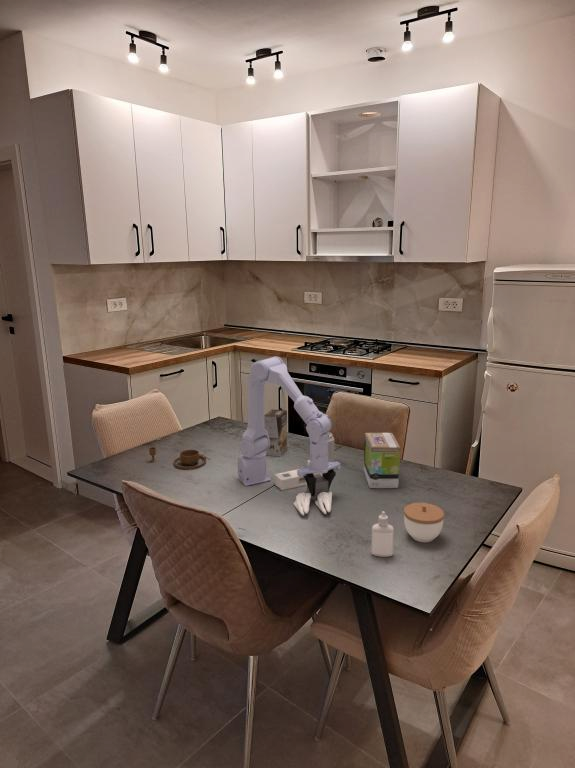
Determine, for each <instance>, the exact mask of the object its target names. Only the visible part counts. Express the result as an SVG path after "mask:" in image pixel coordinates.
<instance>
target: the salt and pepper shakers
mask: <svg viewBox="0 0 575 768" xmlns="http://www.w3.org/2000/svg"><path fill="white" fill-rule="evenodd" d="M310 497H311V494H310V493H307V492H299V493H298V494H297V495H296V497H295V501H294V502H293V505H294V507H295V508H296V510H297V511H298V512H299V514H300V515H302V516H305V514H308V513H309V511H310V503H311V498H310ZM317 497H318V498H317V499H318V500H317V501H314V504H315V505H316V507H318V508H319V510H320V511H321V513H323V514H324V515H327V512H328V513H330V512H331V511H332V500H333V492H332V491H329V492H328V493H326V492H321V493H320V494H319V495H318V496H317Z"/></svg>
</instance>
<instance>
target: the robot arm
mask: <svg viewBox="0 0 575 768" xmlns="http://www.w3.org/2000/svg"><path fill="white" fill-rule="evenodd" d="M266 383H272V384H277V385H279V386H280V387H281V389H282V390H283V391H284V392H285V393H286V395H287V396H288V397H289V398H290V399H291V400H292V401H293V402H294V404H293V408H294V410H295V411H296V412H297V414H298V415H299V416H300V418H301V419H302V420H303V422H304V424H306V426H305V429H306V432H307V434H308V439H309V460H310V465H309V466H307V465H306V466H304V467H303V468H297V469H298V470H297V469H296V470H297V475H298V476H299V477H300V478H301V477H304V479H305V480H306V483H307V485H308V488H309V493H310V494H311V496H314V495H315V483H316V478H315V477H314V475H313V474H315V473H322V475H323V477H324V478H325V479H327V480H328V493H329V492H330V489H331V485H332V482H333V480H334V479H335V477H336V476H337V475H336V474H337V473H336V471H335V470H341V462H339V461H334V462H328V432H330V431H331V430H332V428H333V422H332V419H331V418H330V416H329V415H327V414H326V413H323V412H322V411H320V410H319V409H318V407H317V406H316V405H315V403H314V400H313V399H312V398H311V397H309V396H307V395H303V394H302V393H303V392H301V390H300V389H299V387H298V385H297V383H295V381H294V379H293V378H292V377H291V375H290V374H289V372H288V367H287V365H286V363H284V360H283V358H281V357H279V356H277V355H274V356H272V357H269V358H265V359H262V360H256V361H254V363H252V364H250V372H249V374H248V376H247V428H246V430H245V431H244V432H243V434H242V435H241V440H240V443H239V450H240V452H241V454H242V456H241V457H238V458H237V479H238V480H240V481H239V482H241V483H242V484H243V485H244V486H246V487H247V486H252V485H256V484H261V483H266V482H269V481H271V480H272V479H271V478H270V477H269V476H268V475H267V455H266V453H267V449H269V447H270V439H269V437H268V431H267V430H266V429H265V424H264V415H265V384H266ZM326 432H327V433H326Z"/></svg>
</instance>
